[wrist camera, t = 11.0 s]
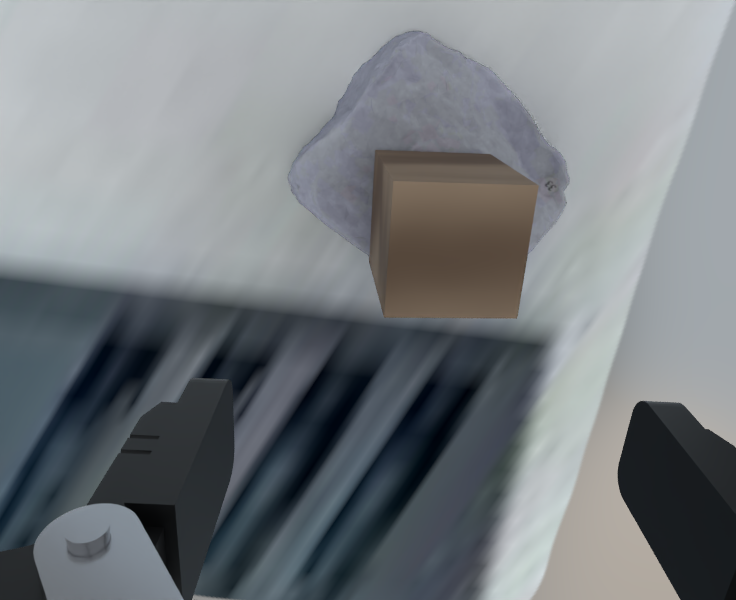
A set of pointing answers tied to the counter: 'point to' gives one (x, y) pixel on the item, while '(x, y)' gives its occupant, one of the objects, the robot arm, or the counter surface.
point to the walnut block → (449, 234)
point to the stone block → (421, 133)
